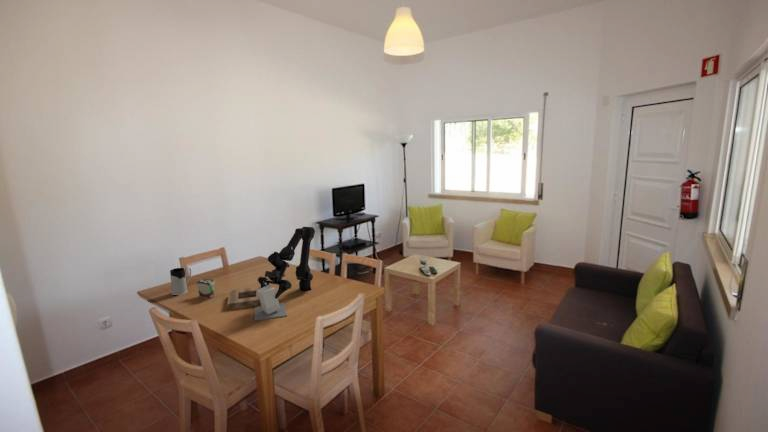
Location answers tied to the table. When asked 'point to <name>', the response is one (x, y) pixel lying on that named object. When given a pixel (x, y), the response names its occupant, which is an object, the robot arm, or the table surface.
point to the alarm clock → (206, 288)
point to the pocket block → (245, 302)
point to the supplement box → (268, 299)
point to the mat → (263, 316)
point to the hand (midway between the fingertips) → (268, 297)
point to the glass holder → (179, 281)
